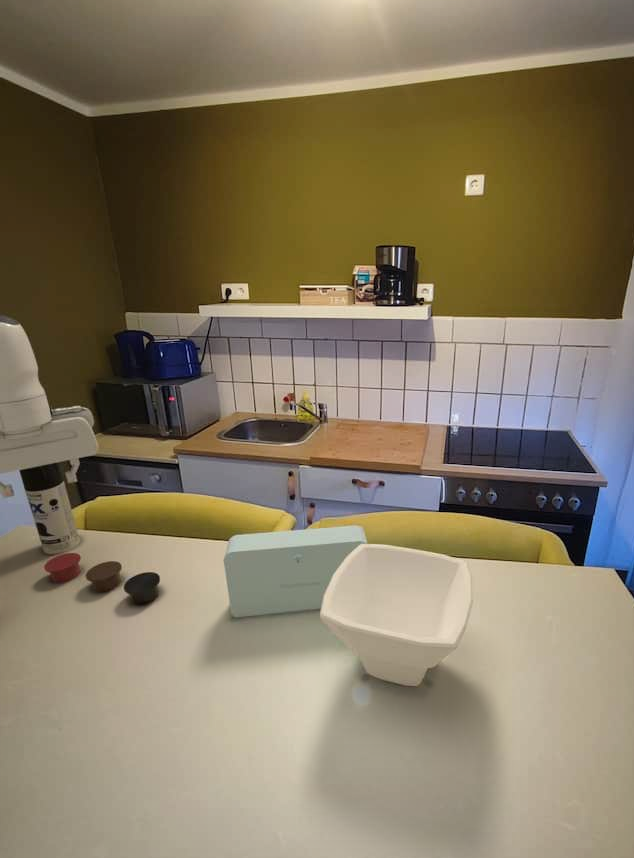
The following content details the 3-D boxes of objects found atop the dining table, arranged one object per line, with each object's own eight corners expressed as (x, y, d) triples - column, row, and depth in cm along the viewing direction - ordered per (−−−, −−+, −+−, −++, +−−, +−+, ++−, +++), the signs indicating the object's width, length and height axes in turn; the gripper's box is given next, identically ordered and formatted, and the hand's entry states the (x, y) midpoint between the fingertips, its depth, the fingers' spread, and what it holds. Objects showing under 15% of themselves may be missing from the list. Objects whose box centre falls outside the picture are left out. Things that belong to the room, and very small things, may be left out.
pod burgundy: (49, 591, 79) (44, 574, 78) (48, 575, 84) (43, 559, 82) (86, 579, 83) (81, 563, 81) (83, 564, 87) (78, 549, 86)
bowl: (355, 607, 74) (354, 538, 69) (469, 632, 69) (477, 558, 64) (311, 700, 58) (306, 617, 53) (458, 742, 52) (467, 655, 47)
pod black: (131, 614, 73) (126, 597, 72) (125, 596, 78) (121, 580, 76) (166, 600, 76) (163, 584, 75) (159, 584, 81) (155, 568, 80)
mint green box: (231, 623, 71) (221, 555, 66) (236, 600, 76) (227, 535, 72) (369, 609, 74) (369, 543, 69) (364, 587, 79) (364, 524, 75)
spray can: (36, 552, 91) (8, 466, 84) (65, 536, 97) (42, 454, 90) (59, 558, 89) (32, 470, 82) (88, 541, 95) (65, 457, 88)
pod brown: (92, 601, 77) (87, 584, 75) (88, 584, 81) (84, 568, 80) (127, 588, 80) (123, 572, 79) (122, 573, 84) (118, 557, 83)
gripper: (87, 400, 80) (105, 468, 85) (-60, 421, 69) (-30, 498, 73) (91, 407, 75) (109, 478, 80) (-66, 430, 64) (-34, 512, 69)
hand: (41, 488), depth 77 cm, fingers open, 8 cm apart
